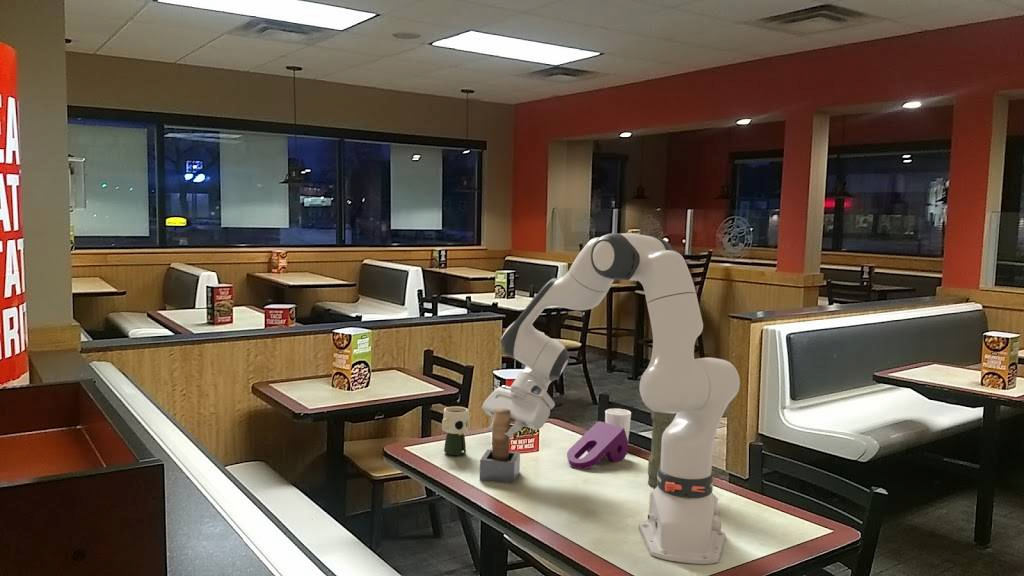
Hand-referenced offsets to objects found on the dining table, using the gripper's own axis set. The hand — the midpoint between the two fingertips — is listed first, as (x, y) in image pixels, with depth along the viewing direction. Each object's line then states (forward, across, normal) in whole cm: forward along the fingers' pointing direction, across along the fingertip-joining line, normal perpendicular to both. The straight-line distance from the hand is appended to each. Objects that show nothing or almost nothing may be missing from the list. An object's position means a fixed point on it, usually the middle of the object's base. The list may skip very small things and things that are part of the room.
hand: (499, 433), depth 202 cm
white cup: (-26, +2, +43) cm, 50 cm away
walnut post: (+5, 0, +6) cm, 8 cm away
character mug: (+6, -22, +11) cm, 25 cm away
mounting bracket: (-13, +8, +30) cm, 34 cm away
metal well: (+8, 0, +9) cm, 12 cm away
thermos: (-12, +32, +29) cm, 45 cm away
